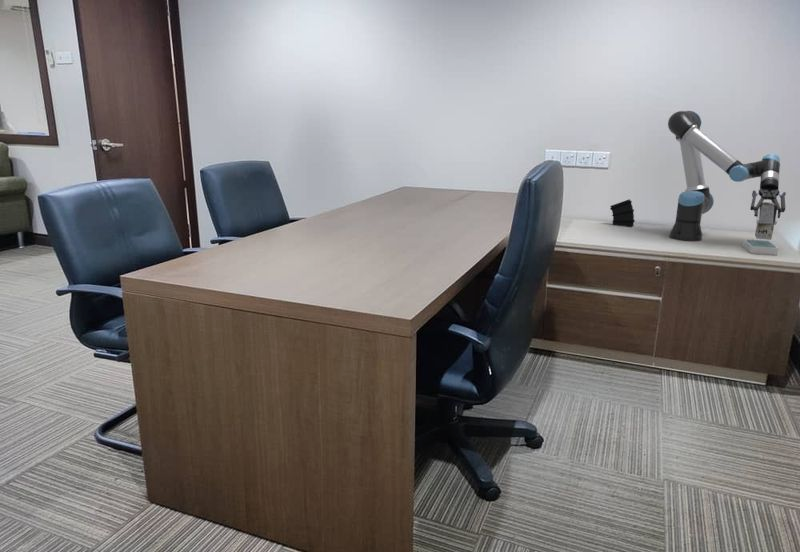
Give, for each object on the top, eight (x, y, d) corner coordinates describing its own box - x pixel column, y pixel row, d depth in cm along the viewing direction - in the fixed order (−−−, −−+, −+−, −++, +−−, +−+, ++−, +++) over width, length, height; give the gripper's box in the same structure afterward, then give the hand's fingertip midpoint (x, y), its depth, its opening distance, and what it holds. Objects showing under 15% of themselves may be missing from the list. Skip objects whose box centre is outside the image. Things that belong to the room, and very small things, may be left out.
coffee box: (771, 240, 273) (778, 205, 269) (755, 238, 276) (761, 204, 272) (769, 236, 281) (775, 202, 277) (754, 235, 284) (760, 201, 280)
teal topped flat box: (750, 253, 276) (752, 246, 275) (743, 247, 288) (744, 240, 287) (776, 255, 273) (778, 248, 272) (768, 248, 286) (769, 241, 285)
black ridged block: (638, 224, 331) (629, 199, 331) (615, 232, 339) (606, 207, 339) (639, 223, 334) (630, 198, 334) (617, 231, 342) (608, 206, 342)
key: (753, 249, 276) (753, 244, 275) (746, 243, 287) (747, 239, 286) (774, 250, 273) (775, 246, 273) (767, 244, 284) (768, 240, 284)
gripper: (791, 189, 282) (789, 228, 272) (744, 186, 290) (741, 225, 280) (795, 178, 276) (793, 219, 266) (747, 176, 284) (743, 215, 274)
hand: (766, 222), depth 273 cm, fingers closed on coffee box, 6 cm apart
